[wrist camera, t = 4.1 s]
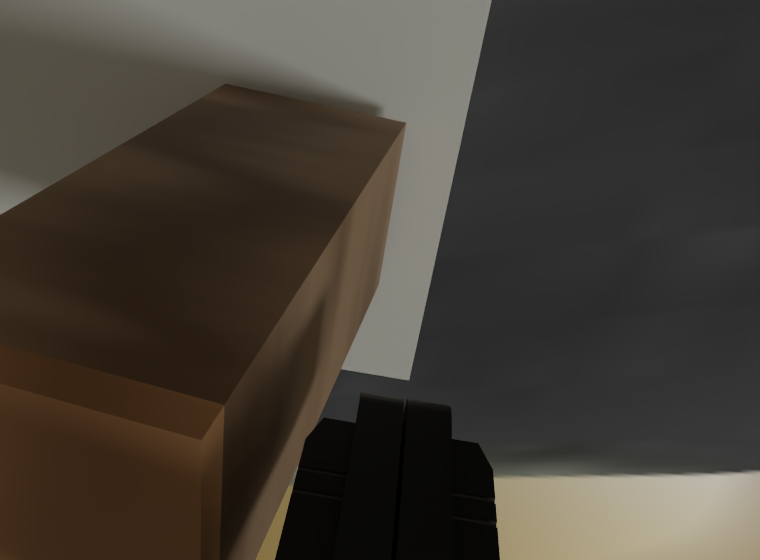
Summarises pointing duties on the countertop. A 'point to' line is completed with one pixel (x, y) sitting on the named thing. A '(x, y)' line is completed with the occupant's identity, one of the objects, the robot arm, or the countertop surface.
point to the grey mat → (258, 72)
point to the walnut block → (184, 325)
